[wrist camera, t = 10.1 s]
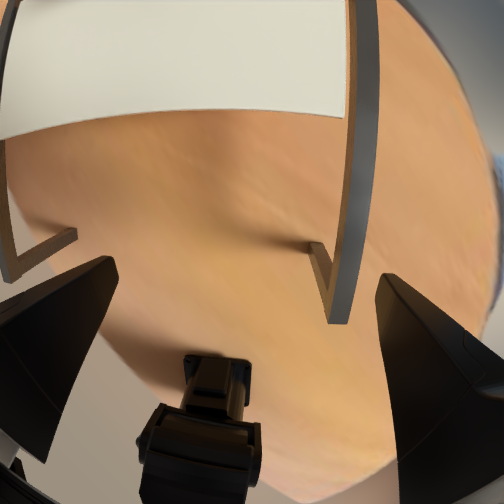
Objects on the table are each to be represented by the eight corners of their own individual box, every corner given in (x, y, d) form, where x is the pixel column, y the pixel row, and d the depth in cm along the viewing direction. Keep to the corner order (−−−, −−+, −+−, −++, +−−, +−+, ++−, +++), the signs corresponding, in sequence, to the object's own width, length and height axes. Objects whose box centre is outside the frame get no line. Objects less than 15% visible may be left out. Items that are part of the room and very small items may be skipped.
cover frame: (321, 256, 22) (347, 324, 14) (70, 239, 23) (3, 281, 15) (335, -9, 15) (364, -73, 6) (77, 14, 16) (13, -13, 7)
